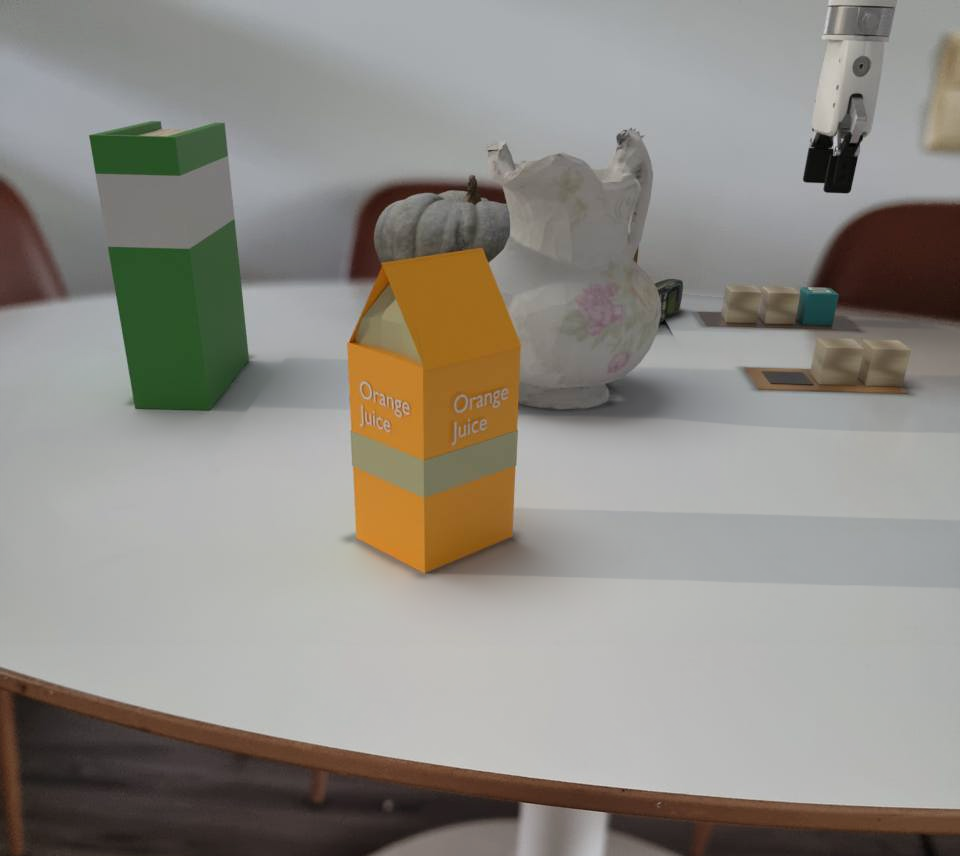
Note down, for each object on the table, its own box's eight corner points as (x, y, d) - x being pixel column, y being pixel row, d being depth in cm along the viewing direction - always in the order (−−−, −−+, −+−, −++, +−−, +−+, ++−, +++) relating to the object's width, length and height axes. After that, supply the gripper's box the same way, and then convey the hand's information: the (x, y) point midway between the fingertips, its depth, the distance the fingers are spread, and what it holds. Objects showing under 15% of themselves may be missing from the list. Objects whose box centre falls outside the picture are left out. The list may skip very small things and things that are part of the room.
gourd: (355, 304, 124) (367, 154, 117) (380, 296, 147) (391, 170, 140) (549, 332, 124) (572, 184, 118) (544, 319, 147) (562, 195, 141)
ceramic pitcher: (535, 366, 115) (531, 129, 103) (693, 381, 106) (708, 123, 94) (436, 416, 100) (416, 143, 87) (611, 439, 90) (616, 138, 78)
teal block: (824, 318, 132) (830, 287, 130) (832, 325, 129) (839, 293, 127) (794, 317, 132) (800, 286, 130) (802, 324, 129) (808, 292, 127)
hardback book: (184, 358, 111) (151, 121, 99) (249, 360, 111) (224, 122, 98) (135, 408, 96) (89, 135, 83) (209, 410, 96) (175, 137, 83)
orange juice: (354, 542, 71) (340, 253, 61) (443, 510, 77) (444, 239, 66) (425, 580, 67) (423, 273, 56) (515, 542, 72) (528, 256, 62)
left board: (841, 320, 134) (848, 285, 132) (859, 334, 127) (867, 298, 125) (695, 316, 134) (700, 281, 132) (705, 330, 127) (710, 294, 125)
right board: (883, 376, 111) (892, 335, 109) (907, 398, 104) (918, 355, 102) (742, 372, 111) (749, 331, 109) (757, 393, 104) (765, 350, 102)
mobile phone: (647, 296, 122) (691, 274, 133) (625, 293, 124) (671, 271, 134) (643, 336, 125) (687, 311, 136) (622, 332, 126) (667, 308, 137)
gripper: (915, 27, 106) (877, 198, 115) (866, 28, 121) (835, 180, 130) (846, 24, 106) (813, 195, 115) (806, 26, 121) (779, 178, 130)
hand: (825, 187), depth 122 cm, fingers open, 9 cm apart
